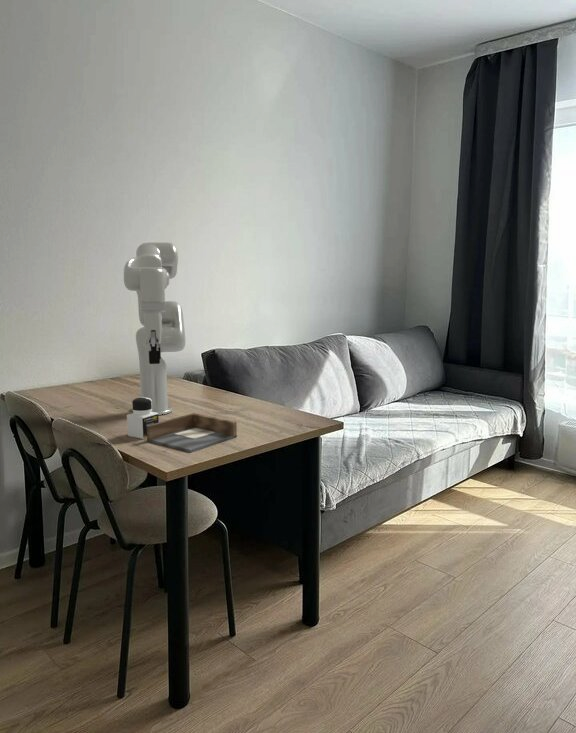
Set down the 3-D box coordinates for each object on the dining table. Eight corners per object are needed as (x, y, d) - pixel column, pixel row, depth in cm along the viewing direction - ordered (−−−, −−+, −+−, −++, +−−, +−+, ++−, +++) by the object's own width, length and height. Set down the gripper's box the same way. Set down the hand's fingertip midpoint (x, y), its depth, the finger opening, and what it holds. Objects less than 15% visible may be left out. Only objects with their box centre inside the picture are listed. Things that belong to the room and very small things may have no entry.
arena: (147, 441, 193) (146, 425, 192) (194, 427, 209) (193, 413, 208) (190, 452, 182) (190, 435, 181) (236, 437, 198) (236, 421, 197)
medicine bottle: (143, 439, 196) (141, 402, 193) (127, 436, 199) (125, 399, 197) (159, 434, 201) (158, 397, 199) (143, 431, 205) (141, 395, 203)
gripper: (142, 306, 204) (144, 358, 207) (139, 309, 187) (141, 365, 190) (165, 305, 206) (167, 357, 208) (164, 308, 189) (166, 365, 191)
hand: (155, 361), depth 199 cm, fingers open, 9 cm apart
